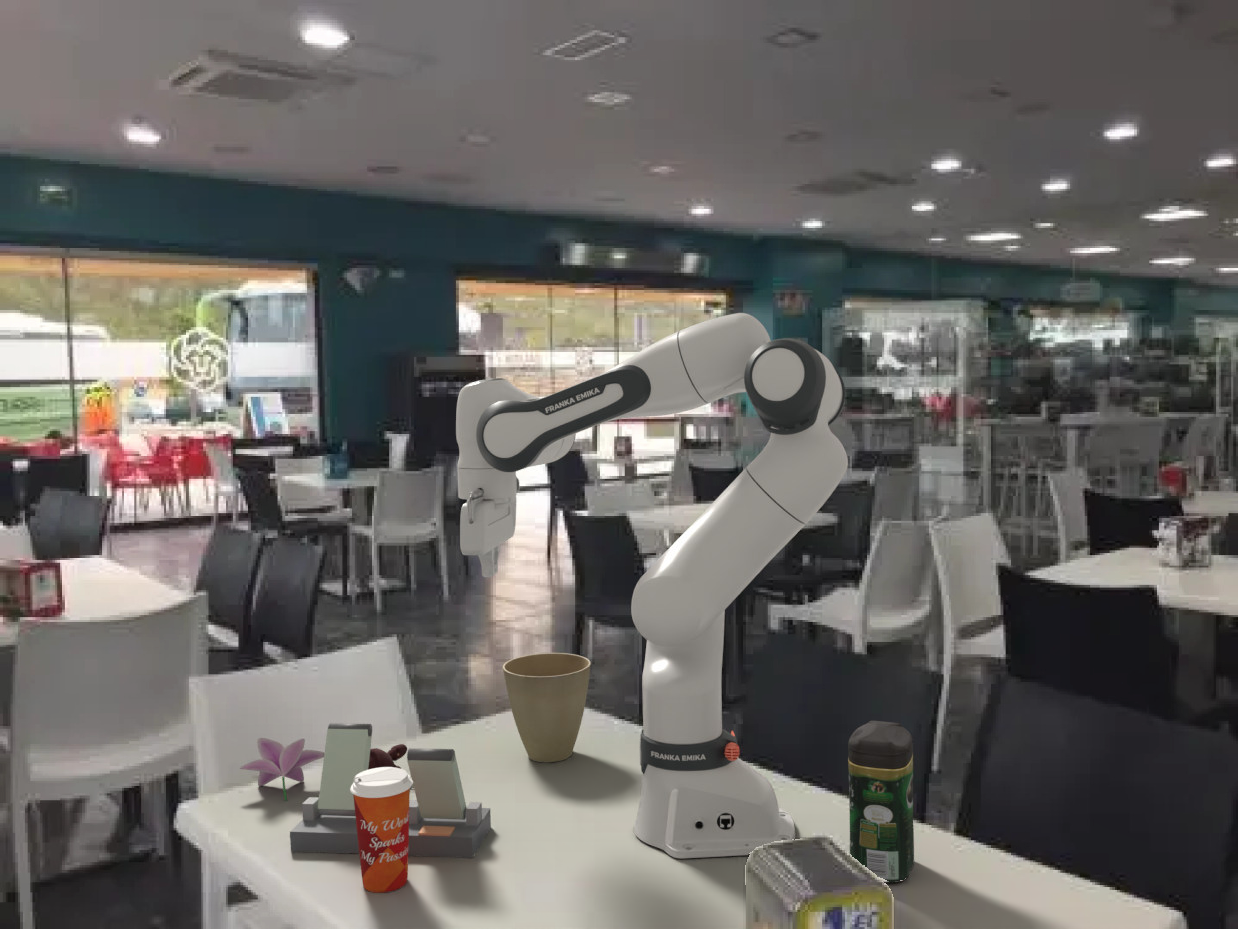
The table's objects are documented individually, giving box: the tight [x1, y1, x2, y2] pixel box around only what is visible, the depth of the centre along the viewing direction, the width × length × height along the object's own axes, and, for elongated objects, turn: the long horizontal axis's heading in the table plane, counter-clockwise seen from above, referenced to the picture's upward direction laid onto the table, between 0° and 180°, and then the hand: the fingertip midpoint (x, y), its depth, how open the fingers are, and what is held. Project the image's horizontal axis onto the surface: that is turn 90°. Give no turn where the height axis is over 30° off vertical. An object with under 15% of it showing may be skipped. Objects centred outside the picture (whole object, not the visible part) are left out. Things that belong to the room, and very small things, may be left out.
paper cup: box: [350, 767, 413, 894], centre depth 137 cm, size 8×8×14 cm
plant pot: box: [502, 652, 592, 763], centre depth 182 cm, size 15×15×16 cm
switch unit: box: [289, 796, 492, 859], centre depth 150 cm, size 26×10×5 cm, turn 83°
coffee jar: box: [847, 720, 915, 883], centre depth 137 cm, size 10×8×19 cm
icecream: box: [368, 743, 408, 770], centre depth 169 cm, size 7×7×15 cm
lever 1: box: [318, 722, 373, 816], centre depth 153 cm, size 6×2×13 cm, turn 83°
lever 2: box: [406, 747, 467, 820], centre depth 146 cm, size 6×2×13 cm, turn 83°
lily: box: [239, 737, 325, 802], centre depth 169 cm, size 12×12×10 cm
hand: (490, 575), depth 164 cm, fingers closed
